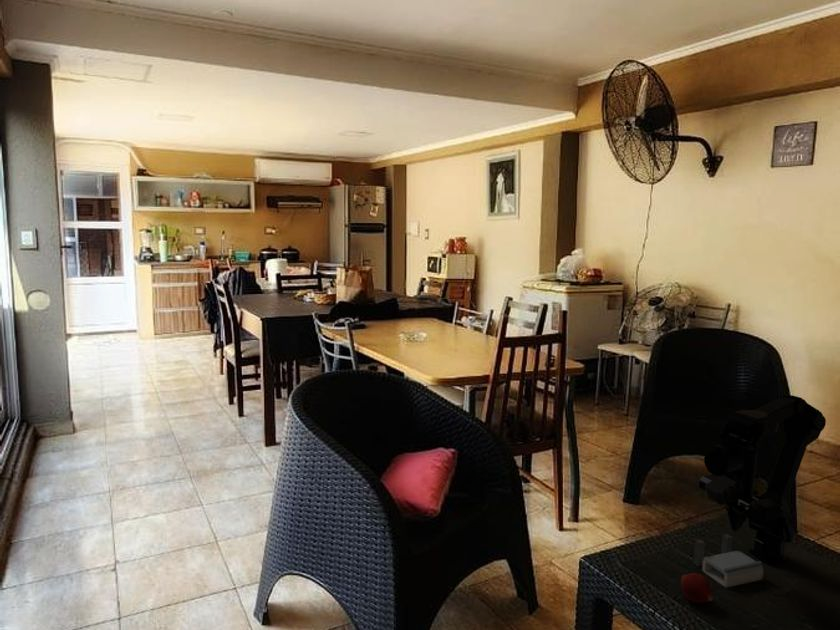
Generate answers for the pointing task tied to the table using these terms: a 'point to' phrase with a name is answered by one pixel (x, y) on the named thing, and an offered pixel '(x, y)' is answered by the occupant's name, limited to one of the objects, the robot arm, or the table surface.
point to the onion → (696, 588)
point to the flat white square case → (717, 574)
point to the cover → (733, 563)
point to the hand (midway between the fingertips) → (735, 530)
